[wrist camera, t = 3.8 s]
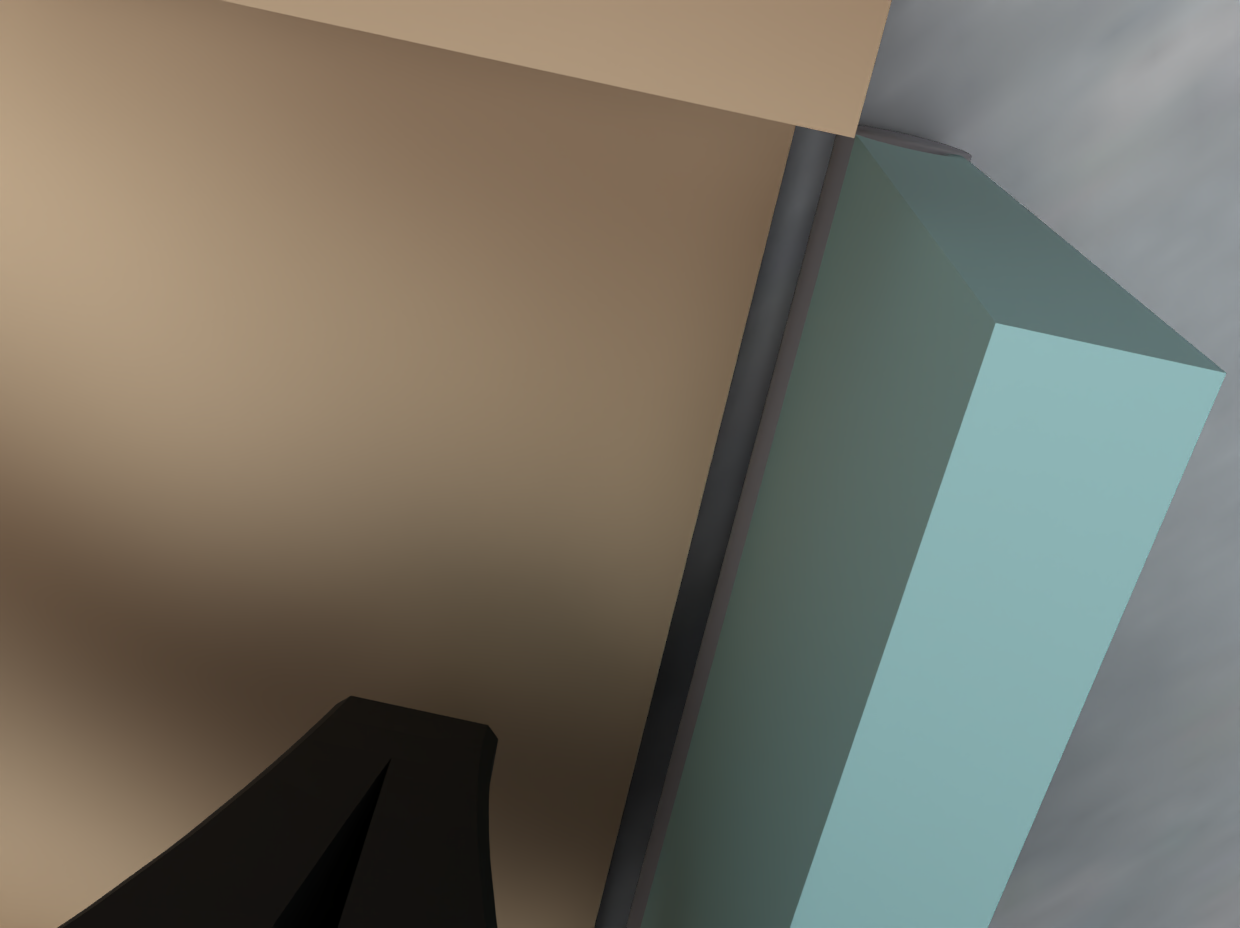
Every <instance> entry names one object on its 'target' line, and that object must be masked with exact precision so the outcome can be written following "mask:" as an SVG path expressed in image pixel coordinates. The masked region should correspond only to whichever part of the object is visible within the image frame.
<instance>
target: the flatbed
mask: <svg viewBox="0 0 1240 928" xmlns="http://www.w3.org/2000/svg"><path fill="white" fill-rule="evenodd" d="M891 1H892V0H0V928H57V927H59V926H60V925H62V924H63V923H65V922H66V921H68V920H69V919H71V918H72V917H74V916H75V915H77V914H78V913H80V912H81V911H83V910H84V909H86V908H87V907H89V906H90V905H91V904H93V903H94V902H95V901H97V900H98V899H100V898H101V897H102V896H104V895H105V894H106V893H108V892H109V891H111V890H112V889H113V888H115V887H116V886H117V885H119V884H120V883H122V882H123V881H124V880H126V879H127V878H128V877H130V876H131V875H133V874H134V873H135V872H137V871H138V870H139V869H141V868H142V867H144V866H145V865H146V864H148V863H149V862H150V861H152V860H153V859H155V858H156V857H157V856H159V855H160V854H161V853H163V852H164V851H165V850H167V849H168V848H169V847H171V846H172V845H173V844H175V843H176V842H177V841H179V840H180V839H181V838H182V837H184V836H185V835H186V834H187V833H189V832H190V831H191V830H192V829H194V828H195V827H196V826H197V825H199V824H200V823H201V822H202V821H203V820H205V819H206V818H207V817H208V816H210V815H211V814H212V813H213V812H215V811H216V810H217V809H218V808H219V807H221V806H222V805H223V804H224V803H226V802H227V801H228V800H229V799H231V798H232V797H233V796H234V795H235V794H237V793H238V792H239V791H240V790H242V789H243V788H244V787H245V786H246V785H248V784H249V783H250V782H251V781H252V780H253V779H255V778H256V777H257V776H258V775H259V774H260V773H262V772H263V771H264V770H265V769H266V768H267V767H268V766H270V765H271V764H272V763H273V762H274V761H275V760H277V759H278V758H279V757H280V756H281V755H282V754H283V753H284V752H286V751H287V750H288V749H289V748H290V747H291V746H292V745H293V744H294V743H296V742H297V741H298V740H299V739H300V738H301V737H302V736H303V735H304V734H305V733H306V732H308V731H309V730H310V729H311V728H312V727H313V726H314V725H315V724H316V723H317V722H318V721H319V720H320V719H321V718H322V717H324V716H325V715H326V714H327V713H328V712H329V711H330V710H331V709H332V708H333V707H334V706H335V705H336V704H337V703H339V702H341V701H342V700H344V699H346V698H348V697H349V696H356V697H360V698H365V699H370V700H374V701H379V702H384V703H388V704H393V705H397V706H402V707H407V708H411V709H416V710H421V711H425V712H430V713H435V714H439V715H444V716H449V717H453V718H458V719H463V720H467V721H472V722H477V723H481V724H486V725H489V727H490V728H491V730H492V731H493V732H494V734H495V735H496V736H497V738H498V744H497V749H496V755H495V760H494V765H493V771H492V776H491V782H490V789H489V843H490V860H491V871H492V881H493V890H494V900H495V910H496V920H497V927H498V928H594V926H595V922H596V918H597V914H598V910H599V906H600V902H601V898H602V894H603V890H604V887H605V883H606V879H607V875H608V871H609V867H610V863H611V859H612V855H613V851H614V847H615V843H616V839H617V835H618V831H619V827H620V823H621V819H622V815H623V811H624V807H625V803H626V799H627V795H628V791H629V787H630V783H631V779H632V775H633V771H634V767H635V763H636V759H637V755H638V751H639V747H640V743H641V739H642V735H643V731H644V727H645V723H646V719H647V715H648V711H649V707H650V703H651V699H652V695H653V691H654V687H655V683H656V679H657V675H658V672H659V668H660V664H661V660H662V656H663V652H664V648H665V644H666V640H667V636H668V632H669V628H670V624H671V620H672V616H673V612H674V608H675V604H676V600H677V596H678V592H679V588H680V584H681V580H682V576H683V572H684V568H685V564H686V560H687V556H688V552H689V548H690V544H691V540H692V536H693V532H694V528H695V524H696V520H697V516H698V512H699V508H700V504H701V500H702V496H703V492H704V488H705V484H706V480H707V476H708V472H709V468H710V464H711V460H712V457H713V453H714V449H715V445H716V441H717V437H718V433H719V429H720V425H721V421H722V417H723V413H724V409H725V405H726V401H727V397H728V393H729V389H730V385H731V381H732V377H733V373H734V369H735V365H736V361H737V357H738V353H739V349H740V345H741V341H742V337H743V333H744V329H745V325H746V321H747V317H748V313H749V309H750V305H751V301H752V297H753V293H754V289H755V285H756V281H757V277H758V273H759V269H760V265H761V261H762V257H763V253H764V249H765V245H766V242H767V238H768V234H769V230H770V226H771V222H772V218H773V214H774V210H775V206H776V202H777V198H778V194H779V190H780V186H781V182H782V178H783V174H784V170H785V166H786V162H787V158H788V154H789V150H790V146H791V142H792V138H793V134H794V130H795V126H801V127H806V128H810V129H815V130H819V131H824V132H829V133H833V134H838V135H842V136H847V137H852V138H854V137H855V134H856V130H857V126H858V123H859V119H860V115H861V112H862V108H863V104H864V101H865V97H866V93H867V89H868V86H869V82H870V78H871V75H872V71H873V67H874V64H875V60H876V56H877V53H878V49H879V45H880V42H881V38H882V34H883V31H884V27H885V23H886V20H887V16H888V12H889V9H890V5H891Z"/></svg>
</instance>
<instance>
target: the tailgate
mask: <svg viewBox="0 0 1240 928" xmlns="http://www.w3.org/2000/svg"><path fill="white" fill-rule="evenodd" d="M971 157H972V156H971V155H970V154H969V153H967V152H964V151H962V150H960V149H957V148H954V147H951V146H948V145H945V144H942V143H938V142H935V141H931V140H928V139H924V138H920V137H916V136H912V135H908V134H904V133H899V132H895V131H890V130H885V129H880V128H874V127H868V126H862V125H858V126H857V130H856V134H855V137H854V138H852V137H847V136H842V135H838V134H837V135H836V138H835V142H834V146H833V150H832V153H831V157H830V161H829V165H828V168H827V172H826V176H825V180H824V184H823V187H822V191H821V195H820V199H819V202H818V206H817V210H816V214H815V217H814V221H813V225H812V229H811V233H810V236H809V240H808V244H807V248H806V251H805V255H804V259H803V263H802V266H801V270H800V274H799V278H798V281H797V285H796V289H795V293H794V297H793V300H792V304H791V308H790V312H789V315H788V319H787V323H786V327H785V330H784V334H783V338H782V342H781V345H780V349H779V353H778V357H777V361H776V364H775V368H774V372H773V376H772V379H771V383H770V387H769V391H768V394H767V398H766V402H765V406H764V409H763V413H762V417H761V421H760V425H759V428H758V432H757V436H756V440H755V443H754V447H753V451H752V455H751V458H750V462H749V466H748V470H747V473H746V477H745V481H744V485H743V489H742V492H741V496H740V500H739V504H738V507H737V511H736V515H735V519H734V522H733V526H732V530H731V534H730V537H729V541H728V545H727V549H726V553H725V556H724V560H723V564H722V568H721V571H720V575H719V579H718V583H717V586H716V590H715V594H714V598H713V601H712V605H711V609H710V613H709V617H708V620H707V624H706V628H705V632H704V635H703V639H702V643H701V647H700V650H699V654H698V658H697V662H696V665H695V669H694V673H693V677H692V681H691V684H690V688H689V692H688V696H687V699H686V703H685V707H684V711H683V714H682V718H681V722H680V726H679V729H678V733H677V737H676V741H675V745H674V748H673V752H672V756H671V760H670V763H669V767H668V771H667V775H666V778H665V782H664V786H663V790H662V793H661V797H660V801H659V805H658V809H657V812H656V816H655V820H654V824H653V827H652V831H651V835H650V839H649V842H648V846H647V850H646V854H645V858H644V861H643V865H642V869H641V873H640V876H639V880H638V884H637V888H636V891H635V895H634V899H633V903H632V906H631V910H630V914H629V918H628V922H627V925H626V928H988V926H989V924H990V921H991V919H992V917H993V914H994V912H995V910H996V907H997V905H998V903H999V900H1000V898H1001V896H1002V893H1003V891H1004V889H1005V886H1006V884H1007V882H1008V879H1009V877H1010V875H1011V872H1012V870H1013V868H1014V866H1015V863H1016V861H1017V859H1018V856H1019V854H1020V852H1021V849H1022V847H1023V845H1024V842H1025V840H1026V838H1027V835H1028V833H1029V831H1030V828H1031V826H1032V824H1033V821H1034V819H1035V817H1036V814H1037V812H1038V810H1039V807H1040V805H1041V803H1042V800H1043V798H1044V796H1045V793H1046V791H1047V789H1048V787H1049V784H1050V782H1051V780H1052V777H1053V775H1054V773H1055V770H1056V768H1057V766H1058V763H1059V761H1060V759H1061V756H1062V754H1063V752H1064V749H1065V747H1066V745H1067V742H1068V740H1069V738H1070V735H1071V733H1072V731H1073V728H1074V726H1075V724H1076V721H1077V719H1078V717H1079V714H1080V712H1081V710H1082V708H1083V705H1084V703H1085V701H1086V698H1087V696H1088V694H1089V691H1090V689H1091V687H1092V684H1093V682H1094V680H1095V677H1096V675H1097V673H1098V670H1099V668H1100V666H1101V663H1102V661H1103V659H1104V656H1105V654H1106V652H1107V649H1108V647H1109V645H1110V642H1111V640H1112V638H1113V636H1114V633H1115V631H1116V629H1117V626H1118V624H1119V622H1120V619H1121V617H1122V615H1123V612H1124V610H1125V608H1126V605H1127V603H1128V601H1129V598H1130V596H1131V594H1132V591H1133V589H1134V587H1135V584H1136V582H1137V580H1138V577H1139V575H1140V573H1141V570H1142V568H1143V566H1144V563H1145V561H1146V559H1147V557H1148V554H1149V552H1150V550H1151V547H1152V545H1153V543H1154V540H1155V538H1156V536H1157V533H1158V531H1159V529H1160V526H1161V524H1162V522H1163V519H1164V517H1165V515H1166V512H1167V510H1168V508H1169V505H1170V503H1171V501H1172V498H1173V496H1174V494H1175V491H1176V489H1177V487H1178V484H1179V482H1180V480H1181V478H1182V475H1183V473H1184V471H1185V468H1186V466H1187V464H1188V461H1189V459H1190V457H1191V454H1192V452H1193V450H1194V447H1195V445H1196V443H1197V440H1198V438H1199V436H1200V433H1201V431H1202V429H1203V426H1204V424H1205V422H1206V419H1207V417H1208V415H1209V412H1210V410H1211V408H1212V405H1213V403H1214V401H1215V399H1216V396H1217V394H1218V392H1219V389H1220V387H1221V385H1222V382H1223V380H1224V378H1225V375H1226V372H1224V371H1223V370H1222V369H1221V368H1219V367H1218V366H1217V365H1216V364H1215V363H1213V362H1212V361H1211V360H1210V359H1209V358H1207V357H1206V356H1205V355H1204V354H1202V353H1201V352H1200V351H1199V350H1198V349H1196V348H1195V347H1194V346H1193V345H1192V344H1190V343H1189V342H1188V341H1187V340H1185V339H1184V338H1183V337H1182V336H1181V335H1179V334H1178V333H1177V332H1176V331H1174V330H1173V329H1172V328H1171V327H1170V326H1168V325H1167V324H1166V323H1165V322H1164V321H1162V320H1161V319H1160V318H1159V317H1157V316H1156V315H1155V314H1154V313H1153V312H1151V311H1150V310H1149V309H1148V308H1147V307H1145V306H1144V305H1143V304H1142V303H1140V302H1139V301H1138V300H1137V299H1136V298H1134V297H1133V296H1132V295H1131V294H1130V293H1128V292H1127V291H1126V290H1125V289H1123V288H1122V287H1121V286H1120V285H1119V284H1117V283H1116V282H1115V281H1114V280H1112V279H1111V278H1110V277H1109V276H1108V275H1106V274H1105V273H1104V272H1103V271H1102V270H1100V269H1099V268H1098V267H1097V266H1095V265H1094V264H1093V263H1092V262H1091V261H1089V260H1088V259H1087V258H1086V257H1085V256H1083V255H1082V254H1081V253H1080V252H1078V251H1077V250H1076V249H1075V248H1074V247H1072V246H1071V245H1070V244H1069V243H1067V242H1066V241H1065V240H1064V239H1063V238H1061V237H1060V236H1059V235H1058V234H1057V233H1055V232H1054V231H1053V230H1052V229H1050V228H1049V227H1048V226H1047V225H1046V224H1044V223H1043V222H1042V221H1041V220H1040V219H1038V218H1037V217H1036V216H1035V215H1033V214H1032V213H1031V212H1030V211H1029V210H1027V209H1026V208H1025V207H1024V206H1023V205H1021V204H1020V203H1019V202H1018V201H1016V200H1015V199H1014V198H1013V197H1012V196H1010V195H1009V194H1008V193H1007V192H1005V191H1004V190H1003V189H1002V188H1001V187H999V186H998V185H997V184H996V183H995V182H993V181H992V180H991V179H990V178H988V177H987V176H986V175H985V174H984V173H982V172H981V171H980V170H979V169H978V168H976V167H975V166H974V165H973V164H971V163H970V160H971Z"/></svg>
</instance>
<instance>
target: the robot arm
mask: <svg viewBox="0 0 1240 928" xmlns="http://www.w3.org/2000/svg"><path fill="white" fill-rule="evenodd" d="M497 744H498V738H497V736H496V735H495V734H494V732H493V731H492V730H491V728H490V727H489V725H486V724H481V723H477V722H472V721H467V720H463V719H458V718H453V717H449V716H444V715H439V714H435V713H430V712H425V711H421V710H416V709H411V708H407V707H402V706H397V705H393V704H388V703H384V702H379V701H374V700H370V699H365V698H360V697H356V696H349V697H348V698H346V699H344V700H342V701H341V702H339V703H337V704H336V705H335V706H334V707H333V708H332V709H331V710H330V711H329V712H328V713H327V714H326V715H325V716H324V717H322V718H321V719H320V720H319V721H318V722H317V723H316V724H315V725H314V726H313V727H312V728H311V729H310V730H309V731H308V732H306V733H305V734H304V735H303V736H302V737H301V738H300V739H299V740H298V741H297V742H296V743H294V744H293V745H292V746H291V747H290V748H289V749H288V750H287V751H286V752H284V753H283V754H282V755H281V756H280V757H279V758H278V759H277V760H275V761H274V762H273V763H272V764H271V765H270V766H268V767H267V768H266V769H265V770H264V771H263V772H262V773H260V774H259V775H258V776H257V777H256V778H255V779H253V780H252V781H251V782H250V783H249V784H248V785H246V786H245V787H244V788H243V789H242V790H240V791H239V792H238V793H237V794H235V795H234V796H233V797H232V798H231V799H229V800H228V801H227V802H226V803H224V804H223V805H222V806H221V807H219V808H218V809H217V810H216V811H215V812H213V813H212V814H211V815H210V816H208V817H207V818H206V819H205V820H203V821H202V822H201V823H200V824H199V825H197V826H196V827H195V828H194V829H192V830H191V831H190V832H189V833H187V834H186V835H185V836H184V837H182V838H181V839H180V840H179V841H177V842H176V843H175V844H173V845H172V846H171V847H169V848H168V849H167V850H165V851H164V852H163V853H161V854H160V855H159V856H157V857H156V858H155V859H153V860H152V861H150V862H149V863H148V864H146V865H145V866H144V867H142V868H141V869H139V870H138V871H137V872H135V873H134V874H133V875H131V876H130V877H128V878H127V879H126V880H124V881H123V882H122V883H120V884H119V885H117V886H116V887H115V888H113V889H112V890H111V891H109V892H108V893H106V894H105V895H104V896H102V897H101V898H100V899H98V900H97V901H95V902H94V903H93V904H91V905H90V906H89V907H87V908H86V909H84V910H83V911H81V912H80V913H78V914H77V915H75V916H74V917H72V918H71V919H69V920H68V921H66V922H65V923H63V924H62V925H60V926H59V927H57V928H498V927H497V920H496V910H495V900H494V890H493V881H492V871H491V860H490V843H489V789H490V782H491V776H492V771H493V765H494V760H495V755H496V749H497Z"/></svg>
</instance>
